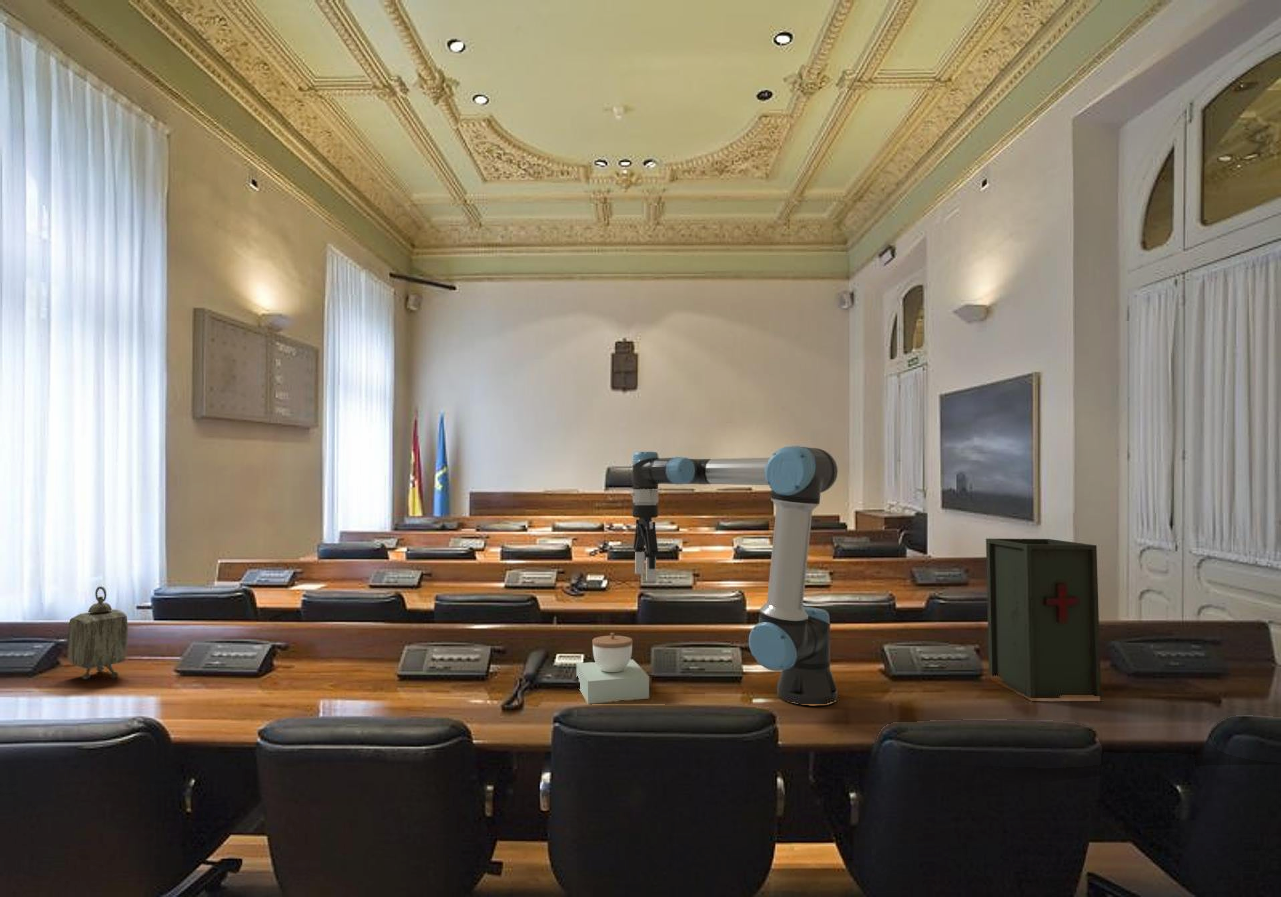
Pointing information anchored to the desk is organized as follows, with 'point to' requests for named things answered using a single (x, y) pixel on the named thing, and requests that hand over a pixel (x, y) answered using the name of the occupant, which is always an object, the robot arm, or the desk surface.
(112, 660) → the tabletop clock
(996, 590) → the first aid box
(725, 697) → the desk surface
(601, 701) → the sage block
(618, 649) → the lidded jar
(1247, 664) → the desk surface
